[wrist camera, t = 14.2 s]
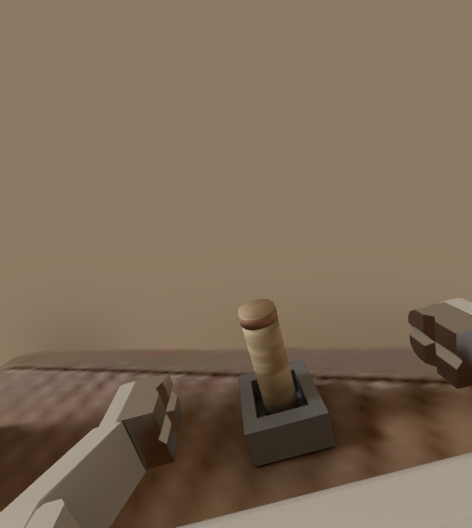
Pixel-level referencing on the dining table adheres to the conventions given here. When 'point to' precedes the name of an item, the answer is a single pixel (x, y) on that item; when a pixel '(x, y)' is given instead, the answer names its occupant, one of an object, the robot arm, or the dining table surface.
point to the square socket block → (285, 420)
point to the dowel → (268, 355)
